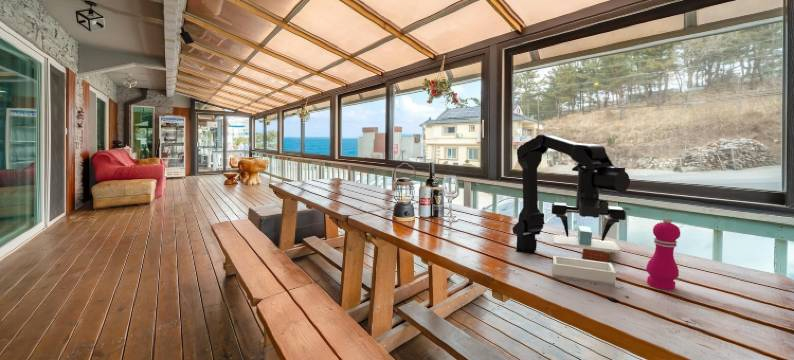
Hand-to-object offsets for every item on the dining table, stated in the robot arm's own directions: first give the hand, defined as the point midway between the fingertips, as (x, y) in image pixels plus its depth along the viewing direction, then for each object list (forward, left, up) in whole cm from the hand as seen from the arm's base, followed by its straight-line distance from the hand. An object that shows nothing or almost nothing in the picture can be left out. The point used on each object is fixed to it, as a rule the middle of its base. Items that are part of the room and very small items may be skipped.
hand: (584, 238), depth 98 cm
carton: (+7, +24, -12) cm, 28 cm away
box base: (0, 0, -12) cm, 12 cm away
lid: (0, 0, -2) cm, 2 cm away
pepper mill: (+20, +2, -12) cm, 23 cm away
